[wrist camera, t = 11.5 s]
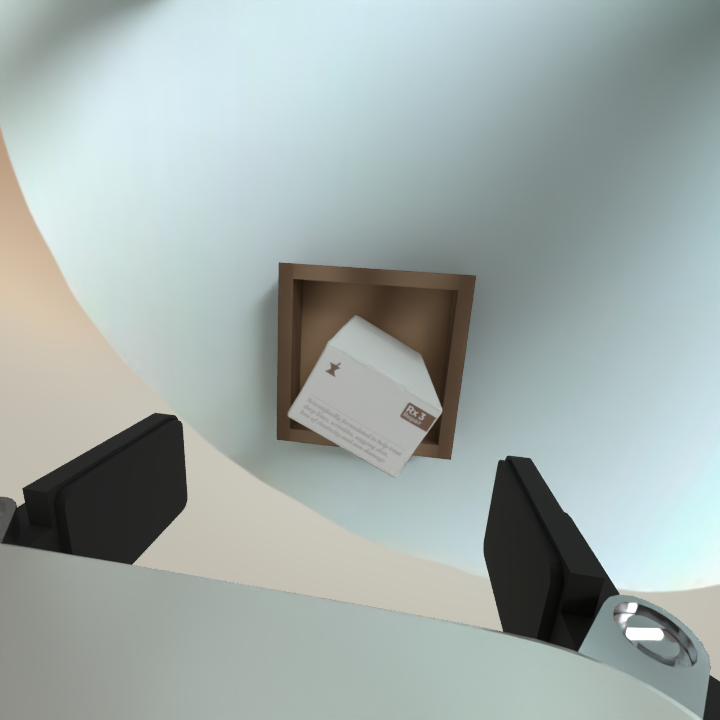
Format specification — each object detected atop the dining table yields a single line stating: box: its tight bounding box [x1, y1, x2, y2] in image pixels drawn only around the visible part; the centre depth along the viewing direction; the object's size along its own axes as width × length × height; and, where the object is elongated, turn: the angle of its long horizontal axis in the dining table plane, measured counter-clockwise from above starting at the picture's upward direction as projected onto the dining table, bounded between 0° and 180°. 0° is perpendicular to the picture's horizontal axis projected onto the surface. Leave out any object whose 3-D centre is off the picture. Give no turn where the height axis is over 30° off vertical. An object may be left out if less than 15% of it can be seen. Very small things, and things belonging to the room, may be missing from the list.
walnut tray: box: [277, 263, 476, 460], centre depth 27 cm, size 13×13×4 cm
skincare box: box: [288, 315, 442, 478], centre depth 22 cm, size 6×4×12 cm
